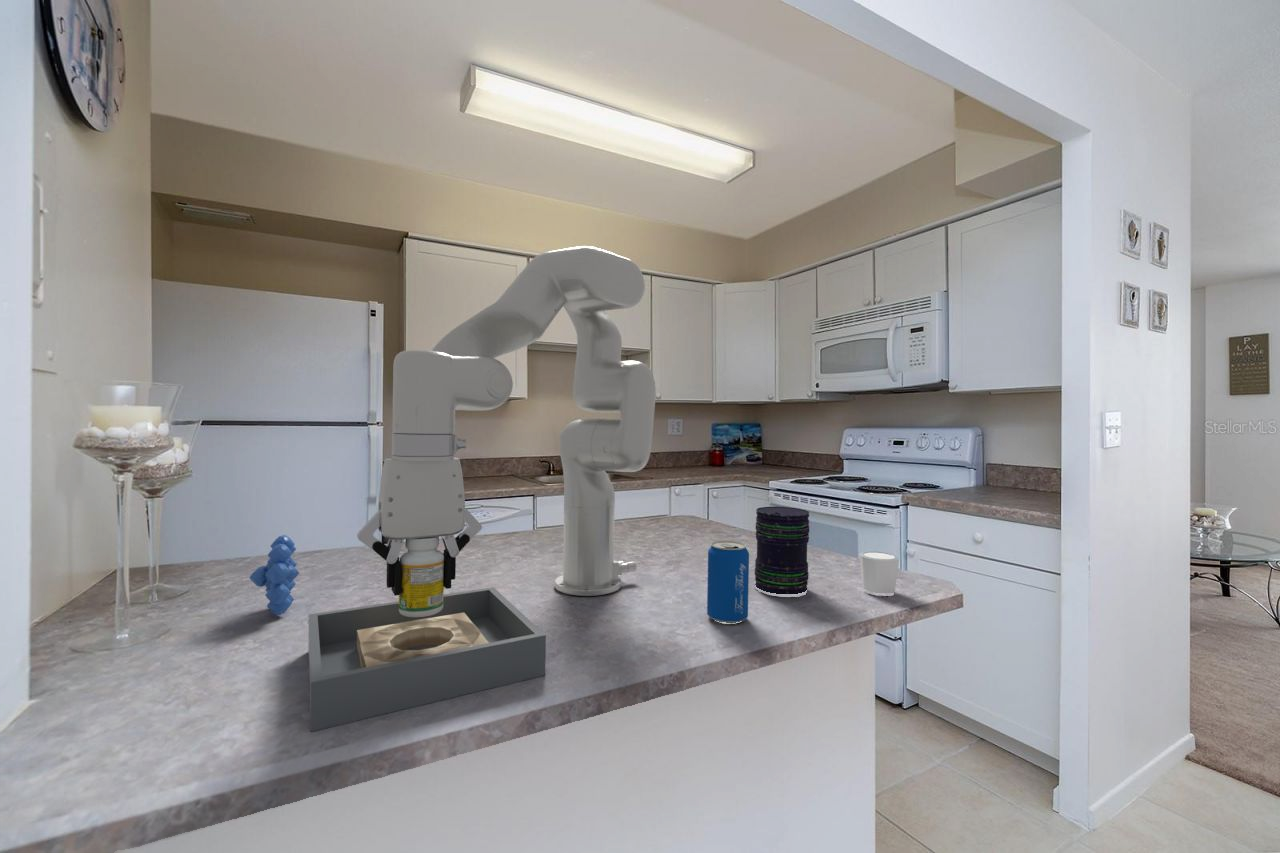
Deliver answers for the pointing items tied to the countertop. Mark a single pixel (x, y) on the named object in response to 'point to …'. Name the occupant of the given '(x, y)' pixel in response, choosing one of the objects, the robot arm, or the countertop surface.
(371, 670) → the open box
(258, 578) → the grapes
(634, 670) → the countertop surface
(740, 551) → the beverage can
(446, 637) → the bore plate
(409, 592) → the supplement bottle
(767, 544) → the storage jar
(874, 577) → the white short cylinder
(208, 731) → the countertop surface
